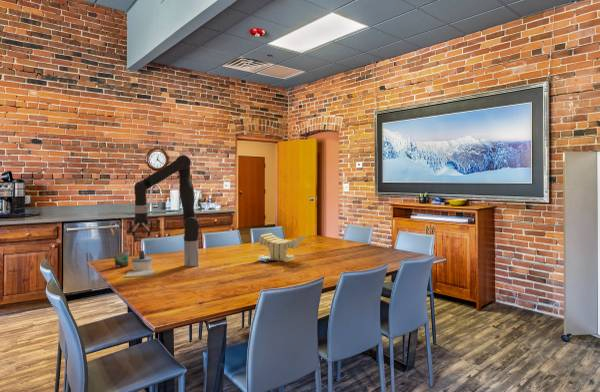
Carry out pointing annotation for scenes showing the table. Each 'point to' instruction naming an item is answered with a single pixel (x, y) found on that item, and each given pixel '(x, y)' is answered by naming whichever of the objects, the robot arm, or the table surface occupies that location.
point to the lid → (141, 257)
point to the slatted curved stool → (279, 246)
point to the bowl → (141, 266)
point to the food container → (121, 259)
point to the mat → (140, 273)
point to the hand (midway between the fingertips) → (141, 236)
